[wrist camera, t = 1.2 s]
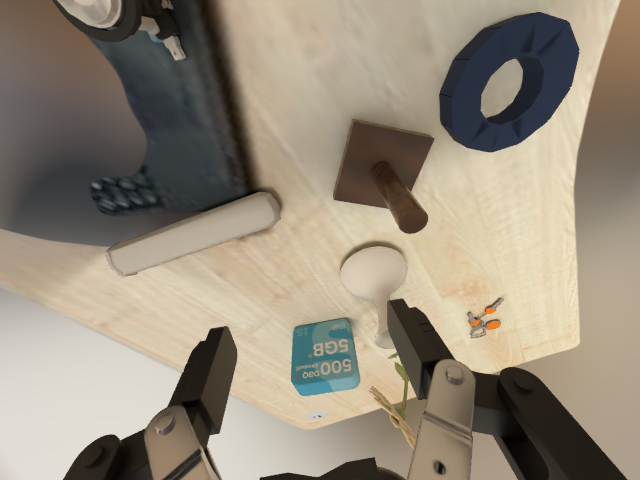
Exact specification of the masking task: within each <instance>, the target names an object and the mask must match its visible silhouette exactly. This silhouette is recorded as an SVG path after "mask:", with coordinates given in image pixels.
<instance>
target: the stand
mask: <svg viewBox="0 0 640 480" xmlns="http://www.w3.org/2000/svg"><path fill="white" fill-rule="evenodd" d="M433 141H434V138H433V137H431V136H430V135H425V134H421V133H416V132H411V131H407V130H402V129H397V128H393V127H388V126H383V125H378V124H374V123H369V122H364V121H360V120H355V119H352V122H351V126H350V130H349V134H348V138H347V141H346V145H345V149H344V153H343V157H342V161H341V165H340V169H339V173H338V177H337V181H336V185H335V189H334V193H333V197H334V200H338V201H344V202H350V203H356V204H363V205H369V206H375V207H381V208H388V209H389V210H390V212H391V213H392V215H393V217H394V219H395V221H396V223H397V224H398V226H399V228H400V230H401V231H403V232H404V233H408V234H412V233H416V232H418V231H420V230H422V229H423V228H424V227H425V226H426V224H427V222H428V215H427V213H426V212H425V210H424V209H423V208H422V206H421V205H420V204H419V203H418V201H417V200H416V199H415V197H414V196H413V195H412V193H411V190H412V188H413V186H414V183H415V181H416V179H417V177H418V174H419V172H420V170H421V168H422V166H423V163H424V161H425V159H426V157H427V154H428V152H429V150H430V148H431V145H432V143H433Z"/></svg>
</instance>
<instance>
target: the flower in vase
mask: <svg viewBox="0 0 640 480" xmlns="http://www.w3.org/2000/svg"><path fill="white" fill-rule="evenodd" d="M407 269H408V266H407V261H406V259H405V258H404V256H403V255H402V254H401V253H399V252H398V251H396V250H394V249H391V248H387V247H380V246H377V247H369V248H365V249H362V250H360V251H358V252H356V253H354V254H353V255H352V256H351V257H349V258H348V259H347V261H346V262H345V263H344V265H343V266H342V269H341V272H340V280H341V282H342V284H343V286H344V287H345V288H346V290H347V291H348V292H350V293H351V294H353V295H355V296H357V297H360V298H364V299H373V301H374V303H375V305H376V308H377V313H378V319H379V328H378V332H377V334H376V336H375V344H376V345H377V346H379V347H381V348H384V349H394V348H395V346H394V344H393V341H392V339H391V337H390V334H389V331H388V326H387V301H389V300H390V297H389V296H390V294H392V293H393V292H395V291H396V290H397V289H398V288H399V287H400V286H401V285H402V283H403V282H404V281H405V279H406V276H407ZM397 355H398V353H395V354H393V355H391V356H390V357H388V359H391V358H393V357H395V358H396V357H397ZM399 358H400V357H399ZM400 361H401V360H400ZM401 364H402V362H401ZM395 368H396V370H397V372H398V373H399V374H400V375H401V377H402V379H403V380H404V381H405V388H404V397H403V404H402V408H399V407H396V408H394V407H393V406H392V405H391V404H390V403H389V401H388V400H387V399H386V398H385V397H384V396H383V395H382V394H381V393H380V392H379V391H378V390H377V389H376V388H375V387H373V386H372V388H370V389H371V391H370V390H369V392H370V393H371V394H372V395H373V396H374V399H375V401H376V402H377V403H378V404H379V405H380V406H381V407H382V408H384V409H385V410H386V411H387V412H388V413H389V414H390V420H391V422H392V423H393V424H394V426H395V427H397V428H399V427H400V428H401V430H402V431H403V433H404V435H405V437H406V438H407V440H408V442H409V444H410V445H411V447H412V448H413V449H414V447H415V443H416V439H417V437H416V435H415V434H414V433H413V431H412V430H411V429H410V427H409V426H408V425H407V423H406V422H405V407H406V399H407V389H408V381H409V378H408V376H407V373H406V371H405V369H404V366H403V364H402V366H401V365H399V364H398V363H397V362H395ZM377 396H378V397H379V398H380V399H381V400H382V401H383V402H382V401H381V400H380V399H379V398H378V397H377ZM411 438H412V439H411ZM413 441H414V442H413Z"/></svg>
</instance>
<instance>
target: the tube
mask: <svg viewBox="0 0 640 480" xmlns="http://www.w3.org/2000/svg"><path fill="white" fill-rule="evenodd" d="M280 219H281V217H280V211H279V204H278V202H277V201H276V200H275V199H274V198H273V196H272V195H271V194H270V193H265V192H258V193H255V194H252V195H249V196H247V197H244V198H241V199H238V200H236V201H233V202H230V203H228V204H225V205H222V206H219V207H217V208H214V209H211V210H209V211H206V212H203V213H200V214H198V215H195V216H193V217H189V218H187V219H184V220H181V221H179V222H176V223H173V224H171V225H168V226H165V227H162V228H160V229H157V230H154V231H152V232H149V233H146V234H143V235H141V236H138V237H135V238H133V239H130V240H127V241H124V242H117V243H114V244H113V245H112V246H111V247H110V248H109V249H108V250H107V251H106V252H105V254H106V258H107V261H108V265H109V267H110V268H111V269H112V270H113V271H114V272H116V273H117V274H118V275H119V276H120V277H125V276H131V275H135V274H137V273H138V272H139V271H142V270H145V269H148V268H151V267H154V266H157V265H160V264H163V263H166V262H169V261H172V260H175V259H178V258H181V257H183V256H186V255H189V254H192V253H195V252H198V251H201V250H204V249H207V248H210V247H213V246H216V245H219V244H222V243H225V242H227V241H230V240H233V239H236V238H239V237H242V236H245V235H248V234H251V233H254V232H257V231H260V230H263V229H266V228H269V227H271V226H274V225H275V224H276V223H277V222H278V221H279V220H280Z"/></svg>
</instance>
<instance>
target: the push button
mask: <svg viewBox="0 0 640 480" xmlns="http://www.w3.org/2000/svg"><path fill="white" fill-rule="evenodd" d="M167 1H168V2H167ZM167 1H166V0H53V2H54V3H55V5H56V6H57V7H58V8H59V10H60V11H61V13H62V14H63V15H64V16H65V17H66V18H67V19H68V20H69V21H70V22H71V23H72V24H73V25H74V26H75V27H77V28H78V29H79V30H81V31H82V32H83V33H85V34H87V35H89V36H91V37H93V38H95V39H98V40H101V41H107V42H118V41H122V40H124V39H126V38H128V37H129V36H130V35H134V34H135V33H136V31H137V30H144V31H147V32H148V35H149V36H150V38H151V39H152V41H153V42H162V43H164V44H165V46H166V48H169V50H170V52H171V53H172V55H173V57H174V59H175V60H182V59H184V58H186V56H185V54H184V52H183V50H182V48H181V46H180V44H181V43H180V41H179V40H178V38H177V37H178V36H180V33H179V31H178V29H177V27H176V25H175V24H174V22H173V20H172V18H171V16H170V14H169V12H168V10H167V8H169V9H172V10H173V6H172V5H171V3H170V1H169V0H167ZM168 3H169V4H168ZM110 26H112V27H117V28H116V29H113V30H107V29H105V28H106V27H110ZM180 51H181V53H182V55H181V53H180ZM174 52H175V54H176V55H177V56H176V55H175V54H174Z"/></svg>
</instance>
